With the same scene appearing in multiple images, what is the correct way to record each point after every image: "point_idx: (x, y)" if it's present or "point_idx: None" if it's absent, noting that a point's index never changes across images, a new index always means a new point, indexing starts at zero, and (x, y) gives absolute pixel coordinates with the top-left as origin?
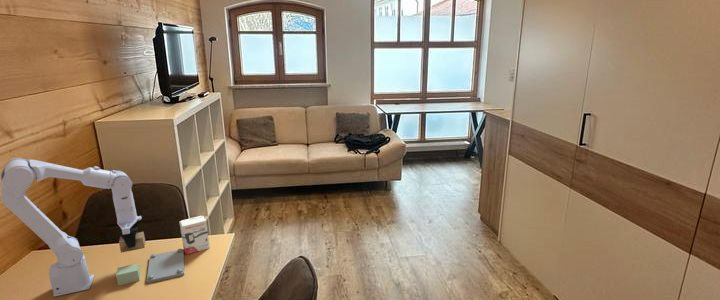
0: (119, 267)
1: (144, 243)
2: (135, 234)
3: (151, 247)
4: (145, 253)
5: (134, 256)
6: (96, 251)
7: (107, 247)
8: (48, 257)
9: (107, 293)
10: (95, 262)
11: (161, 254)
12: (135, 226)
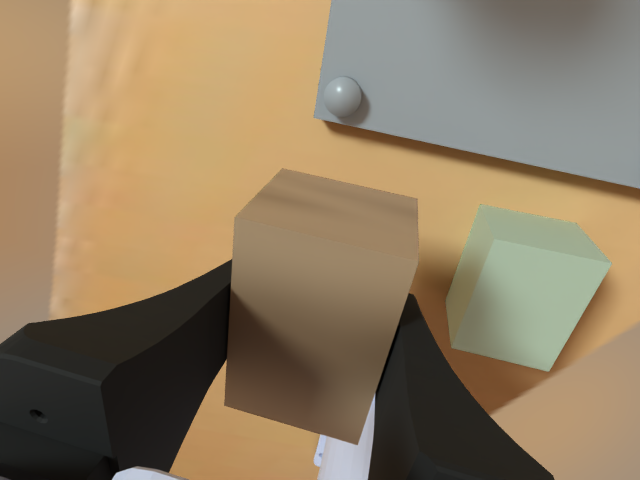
0: (456, 339)
1: (364, 197)
2: (492, 420)
3: (166, 83)
4: (233, 134)
5: (239, 198)
6: None
7: (83, 290)
8: None
9: (564, 368)
10: None
11: (346, 29)
12: (176, 346)
